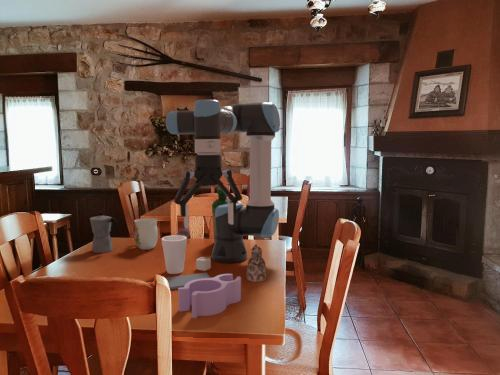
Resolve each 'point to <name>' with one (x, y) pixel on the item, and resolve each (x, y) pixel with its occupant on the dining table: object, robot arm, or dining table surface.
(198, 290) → the clip
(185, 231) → the vegetable
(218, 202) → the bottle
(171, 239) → the foam cup
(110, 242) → the coffeepot
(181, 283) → the slate mat
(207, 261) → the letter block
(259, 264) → the figurine
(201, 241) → the dining table surface
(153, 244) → the pitcher
